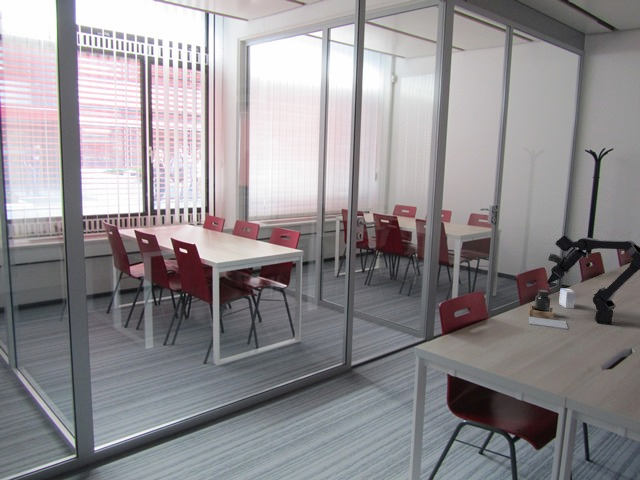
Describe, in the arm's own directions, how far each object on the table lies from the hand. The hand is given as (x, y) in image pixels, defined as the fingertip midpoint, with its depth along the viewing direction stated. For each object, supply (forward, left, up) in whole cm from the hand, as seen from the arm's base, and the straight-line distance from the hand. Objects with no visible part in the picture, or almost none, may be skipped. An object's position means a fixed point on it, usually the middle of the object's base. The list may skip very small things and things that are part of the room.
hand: (549, 281), depth 255 cm
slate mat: (+1, +24, -15) cm, 28 cm away
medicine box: (-10, -12, -15) cm, 22 cm away
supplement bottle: (+3, +11, -15) cm, 18 cm away
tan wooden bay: (+3, +11, -15) cm, 18 cm away
